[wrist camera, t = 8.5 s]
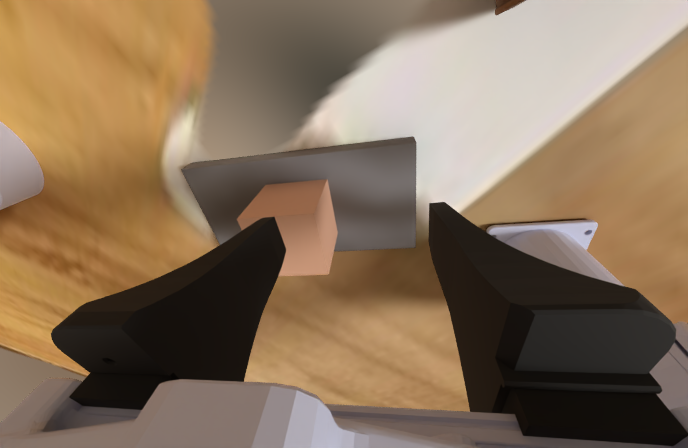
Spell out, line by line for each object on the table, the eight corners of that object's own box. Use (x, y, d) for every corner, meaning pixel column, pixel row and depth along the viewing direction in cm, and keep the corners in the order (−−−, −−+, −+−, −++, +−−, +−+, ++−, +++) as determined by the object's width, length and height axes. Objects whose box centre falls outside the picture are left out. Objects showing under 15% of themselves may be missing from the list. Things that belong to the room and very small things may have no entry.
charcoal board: (413, 237, 23) (415, 247, 22) (233, 246, 26) (226, 256, 25) (413, 136, 18) (416, 142, 17) (192, 162, 21) (181, 169, 20)
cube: (337, 232, 22) (328, 274, 18) (283, 235, 23) (262, 276, 19) (327, 179, 19) (313, 213, 15) (265, 184, 20) (236, 219, 16)
